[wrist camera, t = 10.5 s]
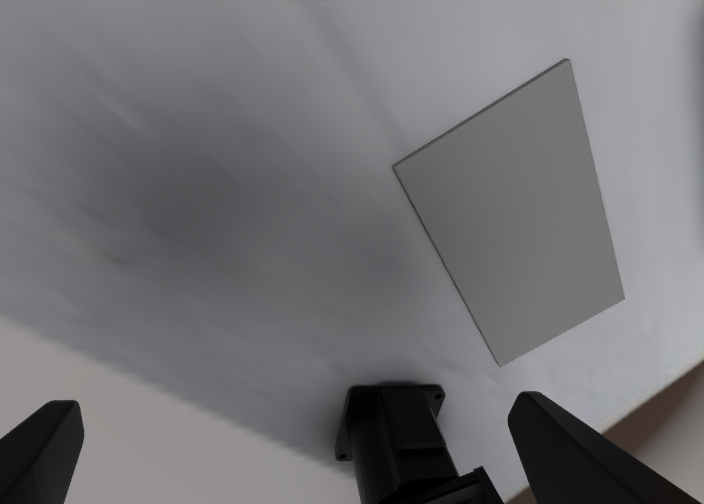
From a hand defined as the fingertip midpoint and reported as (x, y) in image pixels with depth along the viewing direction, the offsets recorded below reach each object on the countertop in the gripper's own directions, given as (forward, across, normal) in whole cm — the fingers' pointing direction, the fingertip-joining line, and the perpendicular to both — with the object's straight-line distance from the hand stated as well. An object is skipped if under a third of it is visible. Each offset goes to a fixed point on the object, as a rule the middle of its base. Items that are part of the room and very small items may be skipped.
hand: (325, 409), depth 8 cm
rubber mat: (+12, -13, +1) cm, 18 cm away
